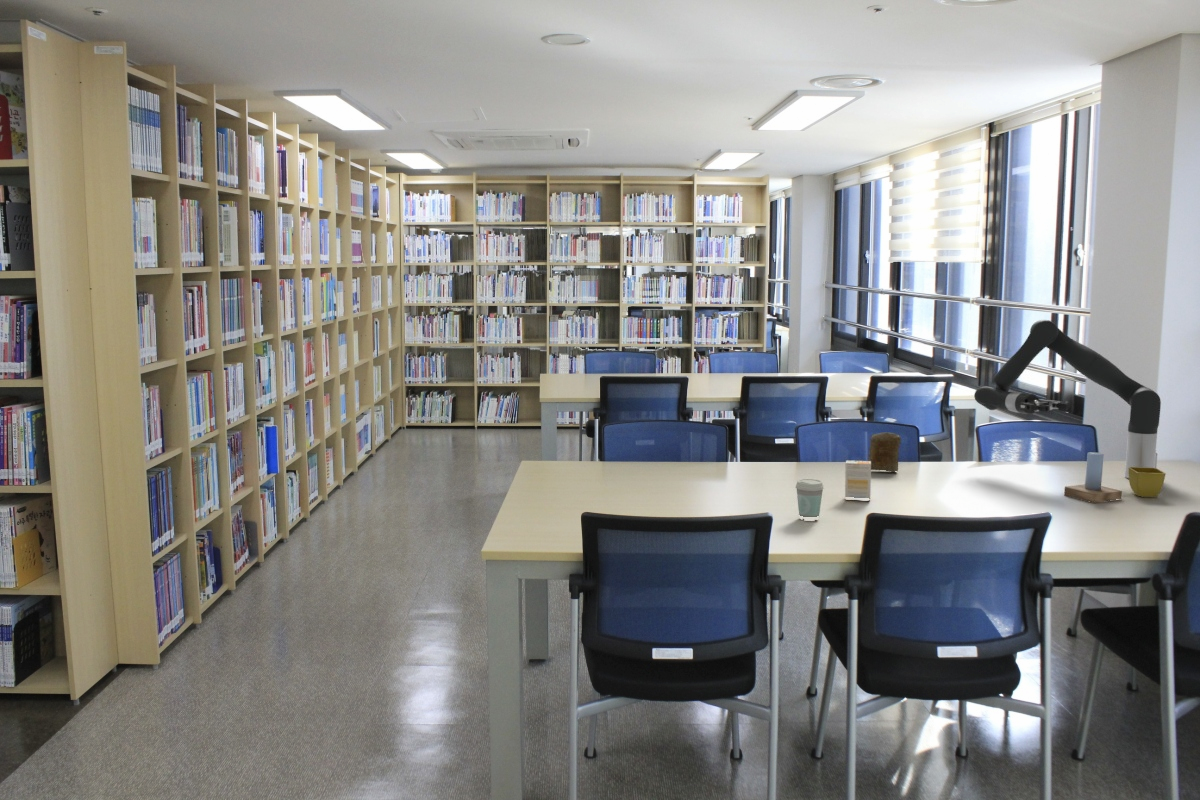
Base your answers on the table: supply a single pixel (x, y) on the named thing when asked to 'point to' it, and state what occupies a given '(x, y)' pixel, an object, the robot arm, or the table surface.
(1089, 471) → the pale blue tumbler
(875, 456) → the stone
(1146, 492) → the flower pot
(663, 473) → the table surface
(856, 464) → the supplement box
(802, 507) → the coffee cup
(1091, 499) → the stand
